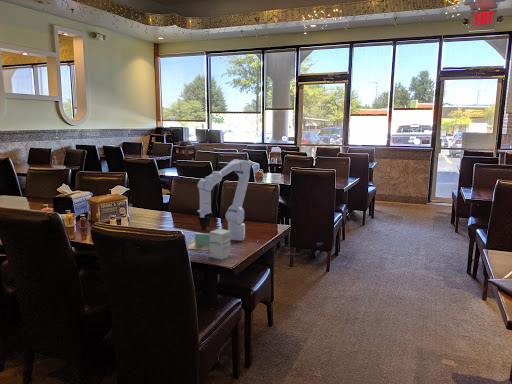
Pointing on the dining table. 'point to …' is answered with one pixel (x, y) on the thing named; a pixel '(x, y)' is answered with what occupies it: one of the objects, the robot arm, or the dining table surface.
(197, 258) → the dining table surface
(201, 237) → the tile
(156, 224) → the dining table surface
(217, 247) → the supplement box
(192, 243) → the mat
